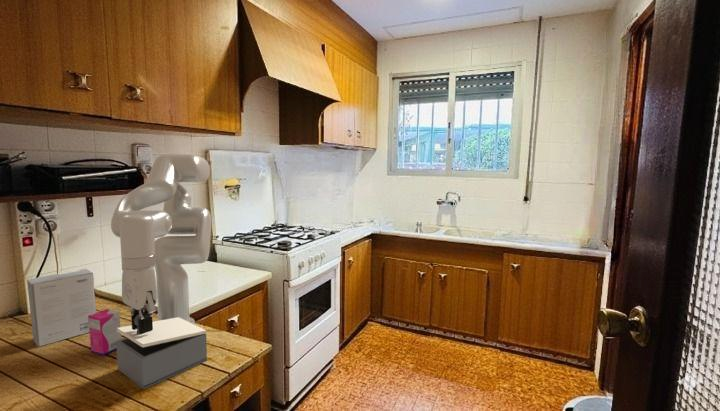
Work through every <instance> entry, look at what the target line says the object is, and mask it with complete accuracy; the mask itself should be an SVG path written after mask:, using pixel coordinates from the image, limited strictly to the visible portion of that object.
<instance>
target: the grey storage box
mask: <svg viewBox="0 0 720 411" xmlns="http://www.w3.org/2000/svg"><path fill="white" fill-rule="evenodd" d="M116 347H117V350H116V360H117V370H118V371H120V372H121V373H122V374H123V375H125V376H126V377H127V378H128V379H130V380H131V381H132V382H133V383H135V385H137V386H139V387H140V388H142V390H146V389H147V388H150V387H153V386H155V385H156V384H159V383H161V382H163V381H166V380H168V379H170V378H172V377H174V376H177V375H178V374H180V373H183V372H185V371H188V370H189V369H191V368H194V367H196V366H198V365H200V364H202V363H204V362H206V361H208V353H207V352H208V350H207V347H208V346H207V332H206V333H205V334H201V335H196V336H192V337H187V338H183V339H178V340H174V341H169V342H165V343H160V344H156V345H152V346H147V347H141V346H139V345H138V344H136V343H135V342H133V341H132V340H130V339H128V338H127V337H124V338H121V340H118V341H116Z"/></svg>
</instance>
